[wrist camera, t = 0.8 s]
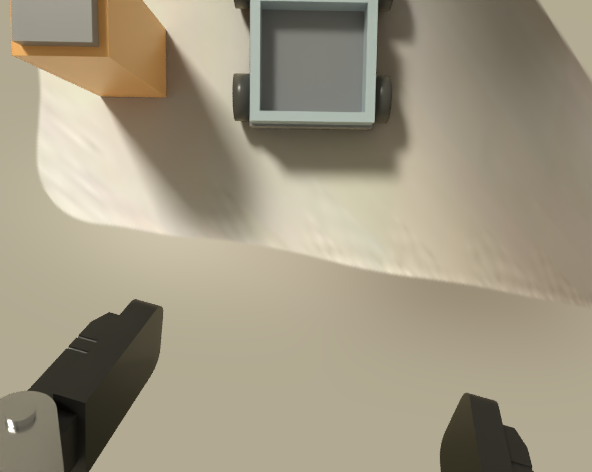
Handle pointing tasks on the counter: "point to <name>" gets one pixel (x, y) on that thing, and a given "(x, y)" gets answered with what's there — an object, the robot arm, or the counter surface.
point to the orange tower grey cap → (93, 44)
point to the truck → (312, 65)
